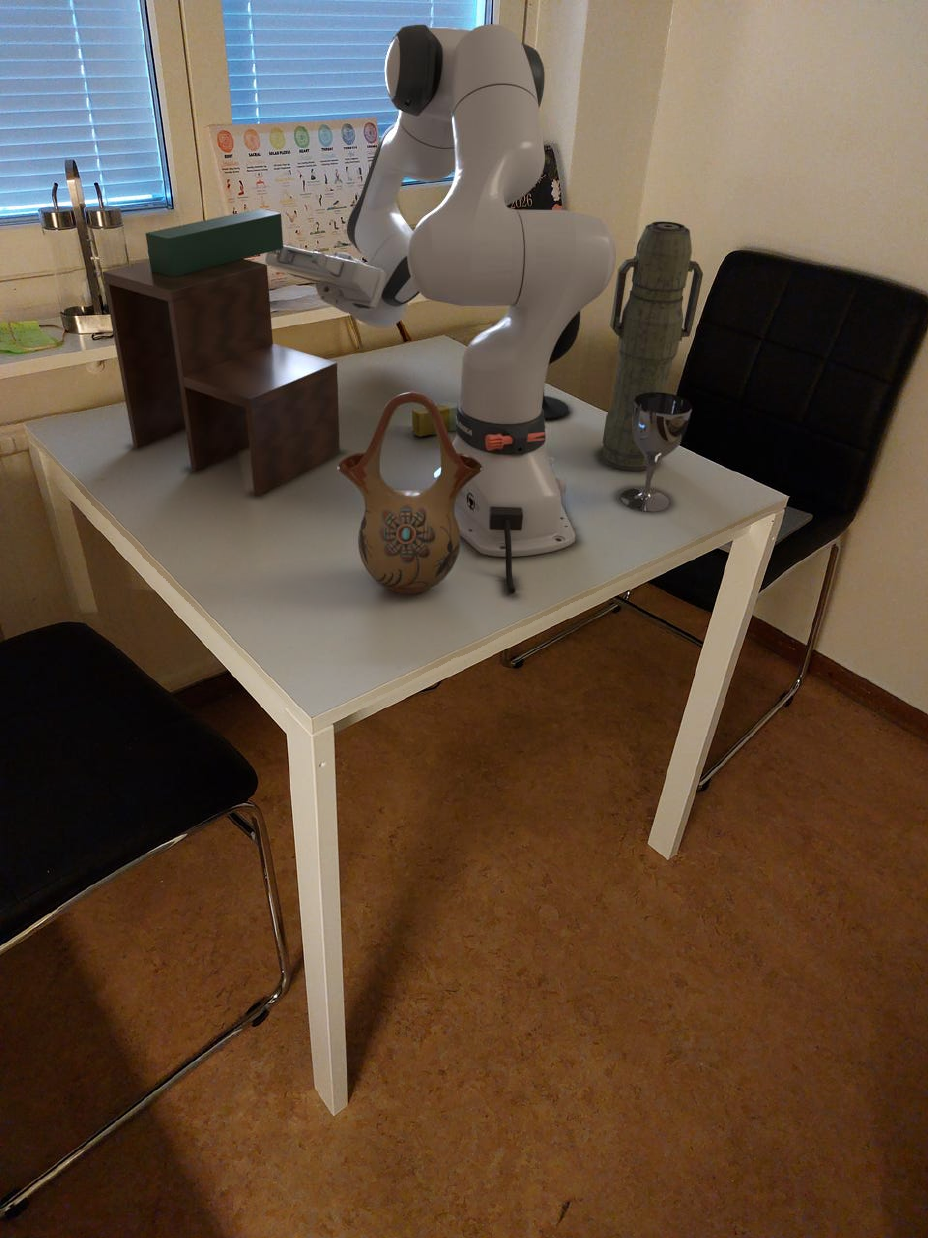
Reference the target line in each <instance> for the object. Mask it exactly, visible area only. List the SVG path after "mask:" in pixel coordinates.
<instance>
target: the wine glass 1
mask: <svg viewBox="0 0 928 1238" xmlns="http://www.w3.org/2000/svg"><path fill="white" fill-rule="evenodd" d="M580 326H581V310H580V311H579V312H578V313H577V314H576V315H575V316H574V317H573V318H572V320H571V321H570V322H569V323H568V324H567V326H566V327H565V329H564V330H563V332H562V333H561V335H560V337H559V338H558V340H557V342H556V344H555V346H554V349H553V351H552V354H551V357H550V360H549V365H548V367H549V366H550V365H551V364H552V363H555V362H556V361H558V360H559V359H560V358H562V357H563V356H564V355H566V354H567V353H568V352H569V351H570V349H571V348H572V347H573V345H574V344H575V342H576V340H577V338H578V335H579V331H580ZM542 408H543V410H544V419H545V421H555V420H559V419H562V418H564V417H566V416H567V415H568V414H569V411H570V410H569V406H568V405H567V404H566V403H565V402H564V401H562V400H560V399H557V398H555V397H551V396H545V393H544V394H543V402H542Z"/></svg>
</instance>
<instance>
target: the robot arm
mask: <svg viewBox="0 0 928 1238" xmlns="http://www.w3.org/2000/svg"><path fill="white" fill-rule="evenodd" d="M545 75H546V74H545V66H544V62H543V60H542V59H541V55H540V53H539V52H538V50H536V49H535V48H534V47H532V46H530V45H528V44H525V43H524V42H522V41H521V40H520V39H519V37H518V36H517V34H515V33H514V32H513V31H512V30H511V29H509V28H508V27H505V26H503V25H499V24H494V23H493V24H492V23H489V24H483V25H478V26H476V27H474V28H472V29H471V30H470V29H462V28H454V27H428V25H426V24H411V25H406V26H402V27H400V29H399V30H397V32H396V33H395V34H394V35H393V36H392V38H391V41H390V45H389V48H388V50H387V54H386V58H385V63H384V77H385V84H386V87H387V88H386V91H387V95H388V98H389V100H390V101H391V103H392V104H393V106H394V108H395V109H397V110H398V118H397V121H396V122H395V123H393V124H391V125H390V126H389V127H387V128H386V129H385V131H384V133H382V135H381V137H380V140H379V142H378V144H377V147H376V149H375V152H374V155H373V158H372V161H371V164H370V166H369V169H368V173H367V175H366V178H365V182H364V184H363V188H362V190H361V193H360V195H359V197H358V200H357V202H356V204H355V205H354V206H353V208H352V210H351V212H350V214H349V217H348V219H347V225H346V235H347V238H348V240H349V242H350V244H352V246H354V247H355V249H356V250H357V251H358V252H359V253H360V254H361V255H362V256H363V258H364V259H365V260H366V262H367V263H364V262H363V261H361V260H360V259H359V258H355V257H354V256H352V255H350V254H349V253H347V252H344V251H343V252H342V251H339V252H334V253H331V254H329V255H328V254H324V253H323V252H319V251H310V250H306V249H302V248H298V247H293V246H289V245H284V244H283V248H282V249H279V250H275V251H271V252H267V253H265V258H264V261H265V264H266V265H267V266H269V267H271V268H273V269H275V270H276V271H279V272H280V273H282V274H285V275H287V276H289V277H292V278H294V279H298V280H302V281H305V282H309V283H313V284H315V289H316V292H317V295H318V296H319V298H320V299H321V300H322V301H323V302H325V303H326V304H328V305H330V306H332V307H333V308H335V309H337V310H339V311H340V312H343V313H346V314H349V315H350V316H351V317H352V318H353V319H355V320H357V321H358V322H361V323H363V324H366V325H368V326H370V327H374V328H381V329H382V328H383V329H384V328H390V327H393V326H395V325H396V324H398V323H399V322H400V321H402V319H403V318H404V316H405V314H406V313H407V308H408V303H409V302H410V301H413V299H415V298H416V297H417V296H419V294H420V295H422V296H423V298H424V299H426V300H430V301H435V302H438V303H442V304H449V305H454V306H458V307H505V306H506V307H509V308H508V309H507V311H506V313H505V314H504V316H503V317H502V318H501V319H500V320H499V321H498V322H497V323H495V324H494V325H493V326H491V327H489V328H487V329H485V330H483V331H481V332H480V333H479V334H477V335H476V336H475V337H474V338H472V339H471V341H470V342H469V343H468V344H467V346H466V348H465V350H464V352H463V355H462V363H461V382H460V384H461V385H460V400H459V401H460V402H459V401H458V402H459V403H458V406H457V412H456V418H455V421H456V430H455V432H456V434H455V435H456V436H455V438H454V440H453V441H452V442H451V443H452V445H453V447H454V449H455V450H456V452H457V454H466V455H468V456H471V457H472V458H474V459H476V460H477V461H478V462H479V463H480V464H481V465H482V467H483V470H482V471H481V472H480V473H479V474H478V475H476V476H475V477H474V478H472V479H471V480H470V481H469V482H468V483H467V484H466V485H465V486H464V487H463V488H462V489H461V491H460V492H459V494H458V496H457V498H456V501H455V507H454V513H455V518H456V520H457V523H458V527H459V531H460V537H462V538H463V539H464V540H465V541H466V542H467V543H468V544H470V545H471V547H473V549H475V551H477V552H478V553H480V554H481V555H484V556H489V557H490V556H491V557H500V558H505V578H506V579H505V580H506V585H507V589H508V591H509V594H511V595H512V594H515V593H516V588H515V584H514V579H513V558H515V557H528V556H534V555H541V554H547V553H553V552H555V551H558V550H559V551H560V550H562V549H565V548H567V547H569V546H571V545H572V544H574V543H575V542H576V533H575V531H574V528H573V526H572V524H571V522H570V520H569V517H568V515H567V513H566V511H565V509H564V506H563V505H562V495H563V494H565V493H566V491H567V481H566V480H567V479H566V478H565V477H563V476H556V474H555V471H554V468H555V463H556V461H555V458H554V457H550V456H549V453H548V449H547V446H546V443H545V442H546V435H547V433H546V428H547V427H546V426H547V425H546V420H545V419H544V410H543V408H542V402H543V394H544V395H545V387H546V380H547V374H548V369H549V366H550V365H549V360H550V357H551V354H552V351H553V349H554V346H555V344H556V342H557V340H558V338H559V337H560V335H561V333H562V332H563V330H564V329H565V327H566V326H567V324H568V323H569V322H570V321H571V320H572V318H573V317H574V316H575V315H576V314H577V313H578V312H579V311H580V312H581V310H583V309H584V308H585V307H586V306H587V305H588V304H590V303H591V302H593V301H594V300H595V299H597V298H599V297H600V295H601V294H603V292H604V291H605V290H606V289H607V287H608V285H609V283H610V282H611V280H612V277H613V275H614V271H615V267H616V261H617V252H616V245H615V244H616V243H615V240H614V237H613V235H612V233H611V230H610V229H609V227H608V224H606V223H605V221H604V220H603V219H602V218H599V217H597V216H593V215H589V214H585V213H582V212H581V213H580V212H577V211H572V210H566V209H515V208H511V207H508V206H509V205H511V204H513V203H515V202H516V201H518V200H520V199H521V198H523V197H524V196H526V195H527V194H528V193H529V192H530V191H531V190H532V189H533V188H534V187H535V186H536V184H537V183H538V182H539V181H540V178H541V177H542V174H543V172H544V168H545V164H546V163H545V162H546V154H545V145H544V138H543V131H542V130H543V129H542V123H541V115H540V107H541V106H542V105H541V104H542V101H543V96H544V91H545V78H546V77H545ZM453 173H454V175H453V178H452V179H453V180H452V183H451V185H450V186H451V187H450V189H449V191H448V193H447V194H446V196H445V197H444V198H443V200H442V201H441V202H440V204H438V206H436V207H435V208H434V209H433V210H432V211H430V212H429V213H427V214H426V215H424V216H423V217H422V218H421V219H420V220H419V222H418V223H417V224H416V225H415V227H414V230H413V229H412V227H410V225H409V224H408V223H407V221H406V220H405V218H404V217H403V215H402V213H401V211H400V209H399V207H398V202H397V198H398V195H399V193H400V190H401V187H402V184H403V183H404V179H405V178H407V179H411V180H414V181H417V182H437V181H441V180H443V179H445V178H447V177H449V176H450V175H452V174H453ZM548 365H549V366H548ZM440 471H441V467H439V468H438V469H437V470H436V471H435V472H434V474H433V475H434V478H438V477H439V475H440Z"/></svg>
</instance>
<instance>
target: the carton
mask: <svg viewBox="0 0 928 1238" xmlns="http://www.w3.org/2000/svg"><path fill="white" fill-rule="evenodd" d="M144 235H145V239H146V246H147V253H148V254H147V255H148V261H150V267H151V271H152V272H156V273H159V274H163V275H166V276H170V277H177V276H180V275H184V274H188V273H192V272H195V271H199V270H203V269H207V268H211V267H214V266H218V265H222V264H226V263H229V262H233V261H237V260H241V259H248V258H252V257H255V256H259V255H263V254H267V252H271V251H275V250H279V249H282V248H283V245H284V238H283V236H284V235H283V221H282V213H281V212H276V211H272V210H269V209H268V210H267V209H263V208H257V209H252V210H247V211H242V212H238V213H234V214H229V215H224V216H219V217H215V218H210V219H204V220H200V221H196V222H191V223H186V224H182V225H178V226H177V225H176V226H173V227H168V228H162V229H159V230H154V231H149V232H145V234H144Z"/></svg>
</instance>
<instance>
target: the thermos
mask: <svg viewBox="0 0 928 1238" xmlns="http://www.w3.org/2000/svg"><path fill="white" fill-rule="evenodd" d="M691 238H692V237H691V230H690V229H689V228H688V227H686V225H685V224H682V223H678V222H674V221H664V220H663V221H662V220H660V221H659V220H658V221H653V222H651V223H650V224H646V225H645V227H644V229H643V231H642V233H641V236H640V237H639V240H638V242H637V245H636V250H635V256H633V257H632V258H629V259H628V258H627V259H625V260H624V261H623V262H622V264H621V265H620V266H619V267H618V269H617V276H616V283H615V288H614V289H615V290H614V297H613V302H612V303H613V304H612V310H611V317H610V322H609V323H610V324H609V326H610V328H611V329H612V330H613V332H614V333H615V334H616V336H618V340H617V351H618V361H617V366H616V367H617V368H616V375H615V381H614V388H613V392H612V393H613V394H612V401H611V407H610V409H609V410H608V412H607V414H606V416H605V421H604V429H603V435H602V436H603V437H602V444H603V445H602V451H601V458H600V459H601V460H602V461H603V462H604V463H605V464H606V465H607V466H609V467H612V468H614V469H618V470H621V471H626V472H627V471H628V472H643V471H647V465H646V461H645V458H644V456H643V454H642V453H641V451H640V450H639V448H638V447H637V446H636V444H635V442H634V440H633V436H632V411H633V404H634V400H635V397H636V396H638V395H640V394H643V393H649V392H661V393H667V390H668V385H669V381H670V376H671V370H672V364H673V361H674V359H675V357H676V356H677V354H678V351H679V345H680V342H682V341H683V338H688V337H690V335H691V333H692V329H693V325H694V322H695V316H696V313H697V312H696V311H697V307H698V303H699V302H698V301H699V298H700V297H699V296H700V292H701V288H702V287H701V286H702V281H703V276H704V273H703V271H702V269H701V266H700V264H699V263H698V262H697V261H696V260H691V259H692V253H693V248H692V247H693V246H692V239H691ZM631 268H633V270H632V277H631V283H632V284H631V289H630V290H629V295H628V300H627V301H626V303H625V306H624V308H623V301H624V294H625V289H626V281H627V276H628V272H629V271H630V269H631ZM691 272H692V273H693V275H692V280H691V285H690V289H689V294H688V295H689V296H688V301H687V306H686V311H685V316H684V313H683V301H684V295H683V294H684V289H685V288H686V285H687V279H688V275H689V273H691ZM622 308H623V310H622Z"/></svg>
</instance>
